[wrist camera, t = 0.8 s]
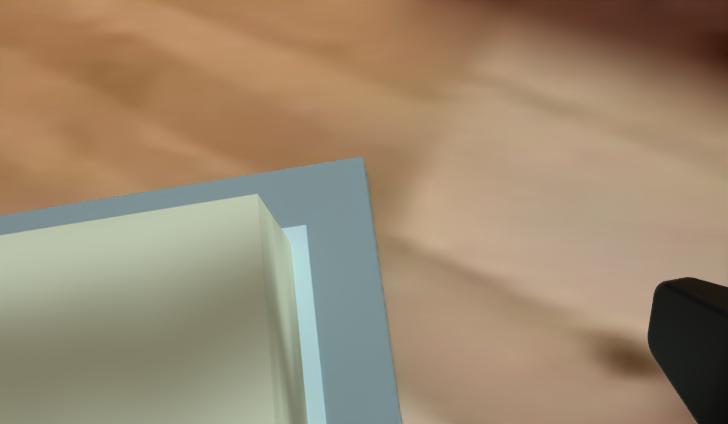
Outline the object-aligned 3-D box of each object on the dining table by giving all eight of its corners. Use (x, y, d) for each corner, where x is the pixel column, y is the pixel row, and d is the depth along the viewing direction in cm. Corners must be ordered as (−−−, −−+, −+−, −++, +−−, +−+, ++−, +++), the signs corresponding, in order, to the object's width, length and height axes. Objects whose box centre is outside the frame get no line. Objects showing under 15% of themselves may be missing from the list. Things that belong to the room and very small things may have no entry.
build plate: (423, 577, 18) (422, 585, 17) (-5, 631, 19) (-35, 642, 18) (366, 171, 23) (362, 155, 21) (18, 228, 23) (-5, 215, 22)
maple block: (314, 491, 18) (281, 497, 14) (60, 525, 19) (-36, 540, 15) (290, 242, 21) (257, 193, 17) (67, 277, 21) (-13, 237, 17)
